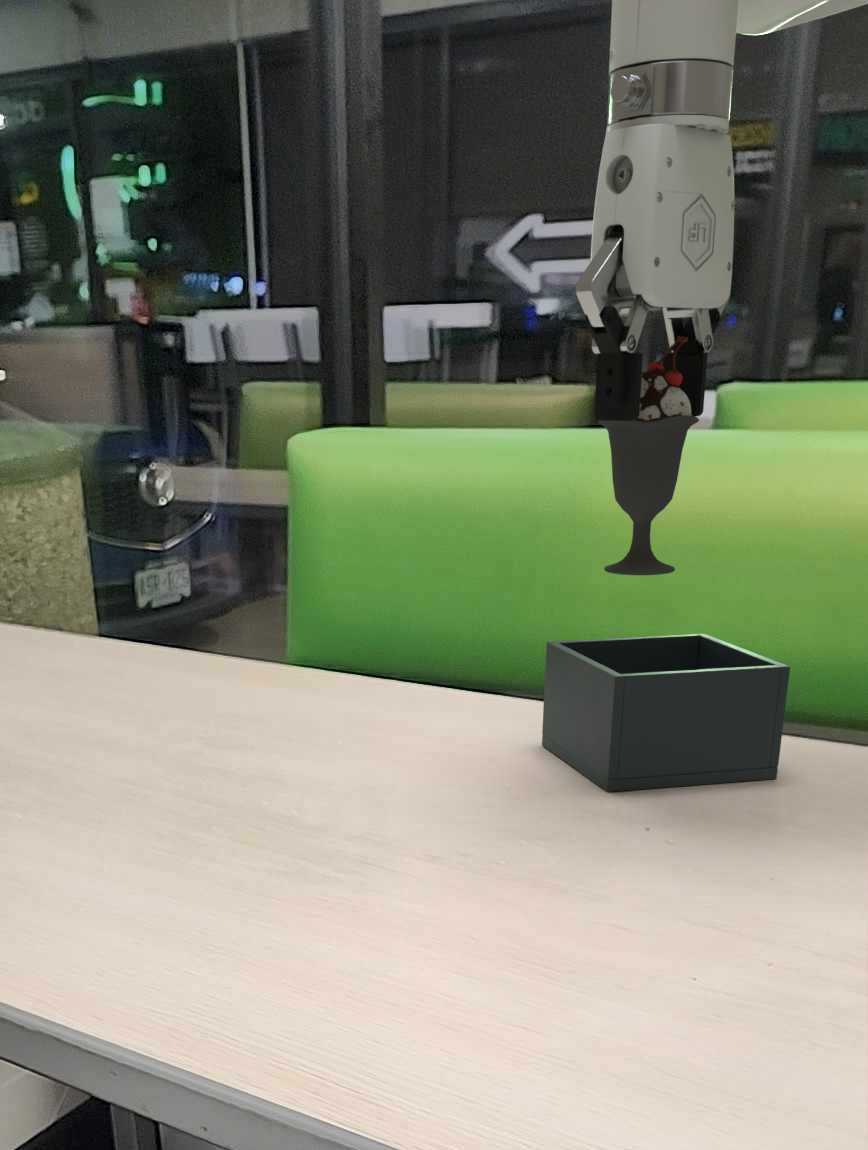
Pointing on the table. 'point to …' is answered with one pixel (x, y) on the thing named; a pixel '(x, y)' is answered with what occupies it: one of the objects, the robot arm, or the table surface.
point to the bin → (663, 711)
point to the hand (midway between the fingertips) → (649, 415)
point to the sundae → (649, 461)
